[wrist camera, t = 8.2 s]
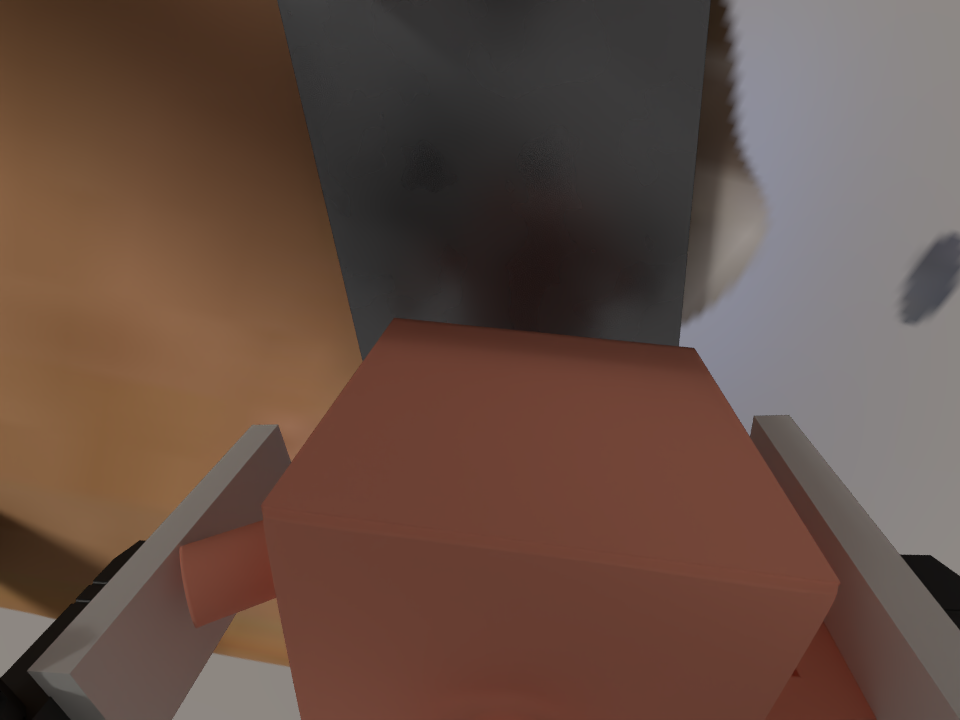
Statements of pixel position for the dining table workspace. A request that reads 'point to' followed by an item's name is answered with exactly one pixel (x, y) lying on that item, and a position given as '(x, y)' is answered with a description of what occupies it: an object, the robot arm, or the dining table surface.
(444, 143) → the frame
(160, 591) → the robot arm
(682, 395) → the pink cube teapot
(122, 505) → the dining table surface
